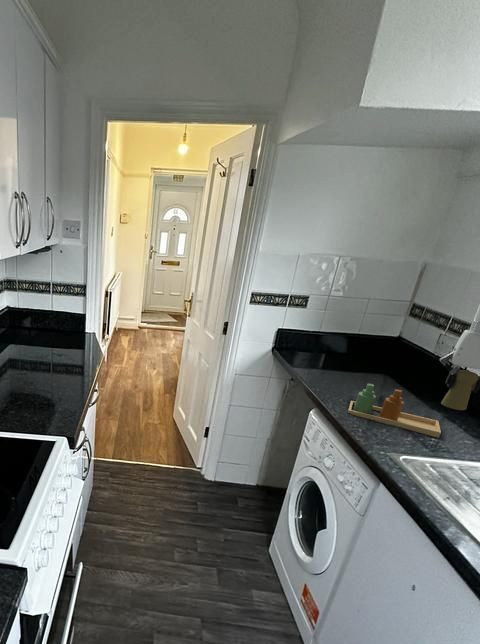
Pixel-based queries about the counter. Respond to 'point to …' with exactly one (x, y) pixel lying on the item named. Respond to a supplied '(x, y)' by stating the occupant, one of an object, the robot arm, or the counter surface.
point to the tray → (404, 421)
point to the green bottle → (365, 400)
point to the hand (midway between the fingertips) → (461, 388)
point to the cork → (460, 390)
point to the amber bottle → (392, 406)
